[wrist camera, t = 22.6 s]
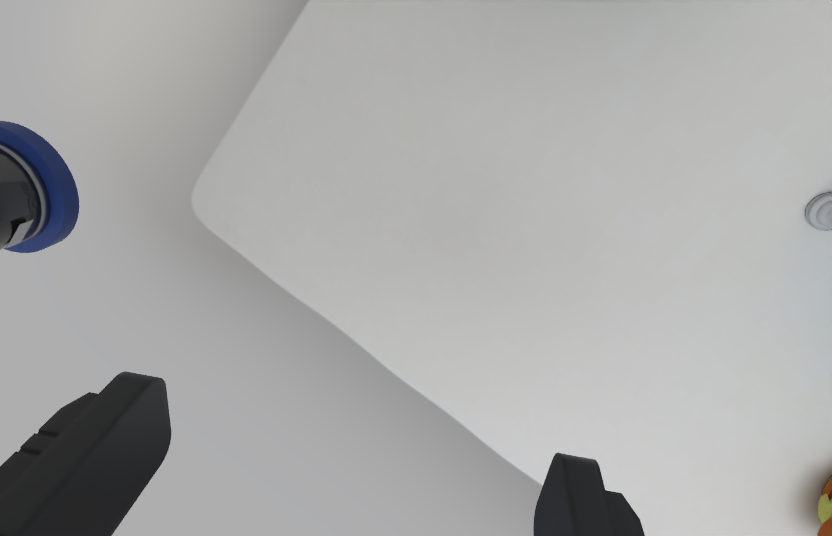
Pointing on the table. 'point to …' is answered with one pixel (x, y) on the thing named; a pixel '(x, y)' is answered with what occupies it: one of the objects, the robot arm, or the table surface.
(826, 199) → the pawn
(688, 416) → the table surface
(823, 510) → the cheeseburger
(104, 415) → the robot arm
